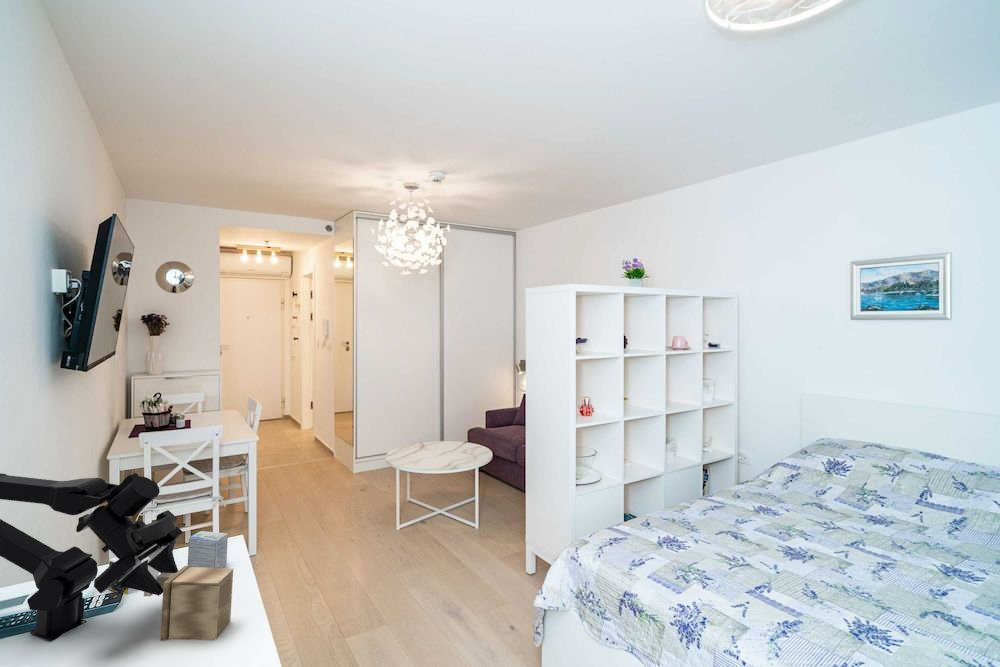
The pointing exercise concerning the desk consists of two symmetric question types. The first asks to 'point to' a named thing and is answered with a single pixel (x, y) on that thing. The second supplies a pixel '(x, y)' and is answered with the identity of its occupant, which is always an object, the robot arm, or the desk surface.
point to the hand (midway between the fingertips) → (170, 586)
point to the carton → (200, 603)
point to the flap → (166, 599)
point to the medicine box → (208, 550)
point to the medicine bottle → (129, 590)
